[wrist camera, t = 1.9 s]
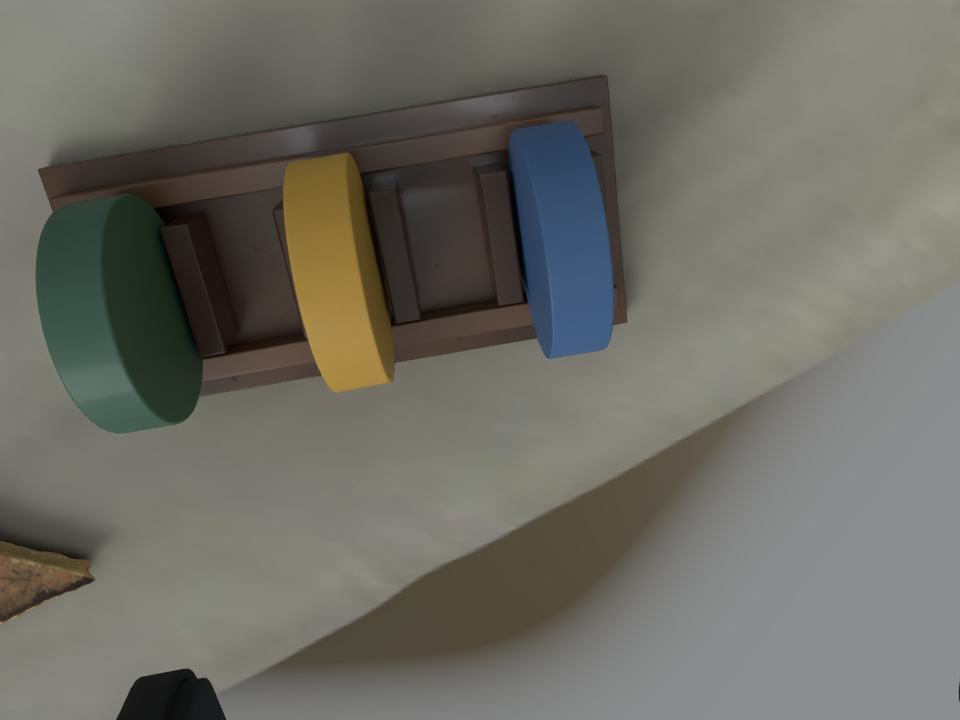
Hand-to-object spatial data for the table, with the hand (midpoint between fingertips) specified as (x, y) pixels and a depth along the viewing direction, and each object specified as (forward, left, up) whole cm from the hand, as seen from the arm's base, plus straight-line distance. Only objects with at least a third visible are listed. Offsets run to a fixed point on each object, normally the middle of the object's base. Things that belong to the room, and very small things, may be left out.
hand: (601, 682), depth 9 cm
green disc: (-12, -1, -23) cm, 26 cm away
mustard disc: (-5, 0, -23) cm, 23 cm away
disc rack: (-5, 0, -24) cm, 24 cm away
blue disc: (+3, +1, -23) cm, 23 cm away
